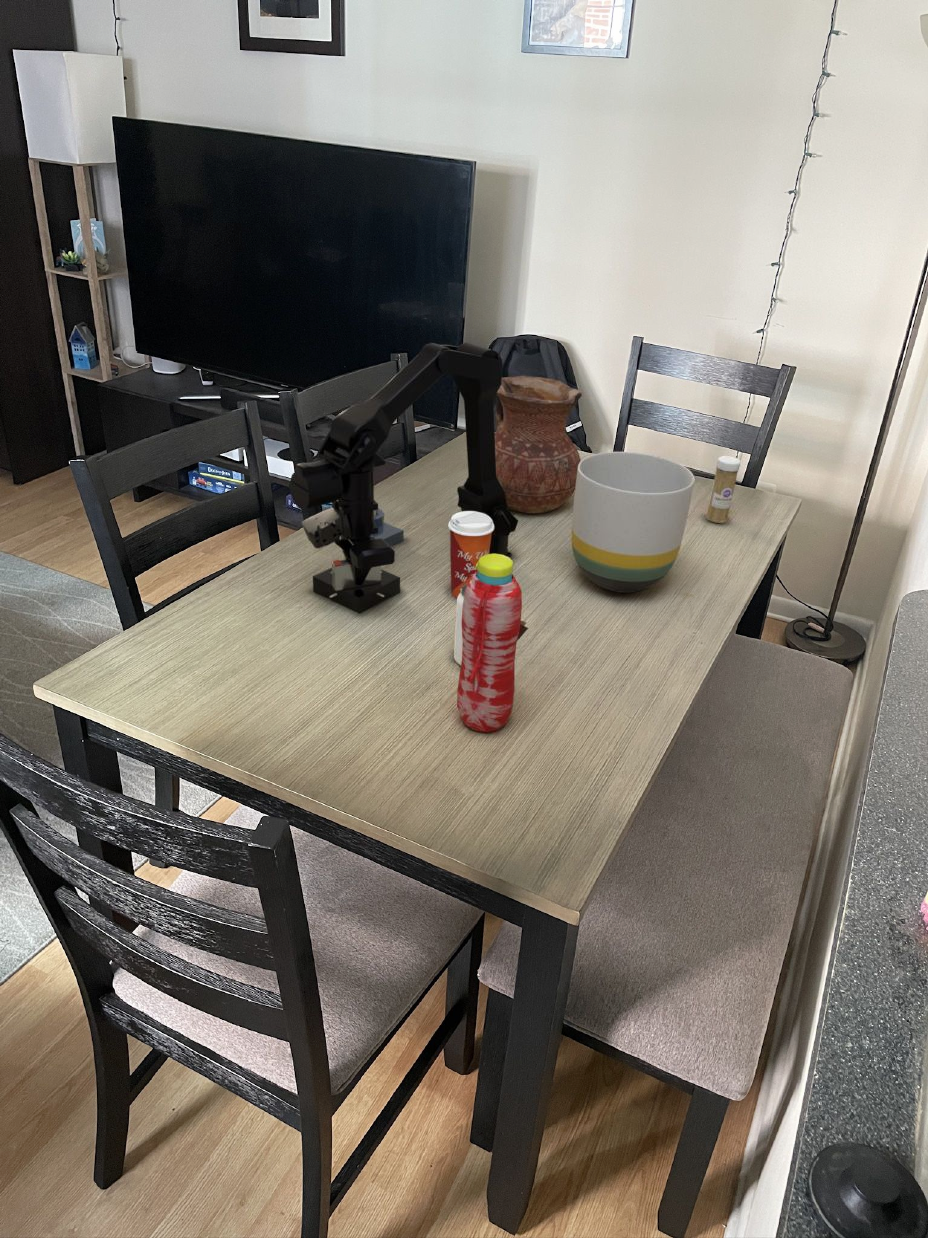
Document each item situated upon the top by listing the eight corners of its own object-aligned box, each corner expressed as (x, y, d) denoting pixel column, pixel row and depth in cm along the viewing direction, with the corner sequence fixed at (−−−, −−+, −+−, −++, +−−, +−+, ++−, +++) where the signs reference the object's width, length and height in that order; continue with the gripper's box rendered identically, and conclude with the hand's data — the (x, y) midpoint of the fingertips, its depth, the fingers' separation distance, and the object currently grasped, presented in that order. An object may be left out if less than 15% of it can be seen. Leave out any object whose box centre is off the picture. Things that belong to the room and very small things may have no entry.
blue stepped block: (407, 538, 172) (407, 519, 170) (374, 553, 166) (374, 534, 164) (367, 522, 178) (367, 504, 176) (334, 536, 172) (334, 517, 170)
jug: (594, 499, 194) (609, 385, 182) (549, 531, 179) (562, 409, 166) (506, 475, 204) (514, 366, 191) (456, 503, 188) (462, 386, 176)
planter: (545, 567, 165) (557, 457, 154) (634, 553, 172) (652, 447, 161) (599, 617, 149) (617, 499, 139) (695, 600, 157) (718, 486, 146)
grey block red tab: (377, 578, 151) (377, 552, 149) (381, 582, 150) (381, 557, 148) (332, 586, 148) (331, 560, 146) (335, 590, 147) (335, 565, 144)
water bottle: (480, 685, 130) (491, 529, 118) (530, 701, 128) (547, 543, 115) (441, 728, 121) (449, 564, 108) (494, 747, 118) (509, 581, 106)
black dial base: (411, 597, 152) (411, 581, 151) (357, 626, 143) (357, 609, 142) (354, 572, 159) (354, 556, 158) (299, 598, 150) (298, 581, 149)
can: (491, 674, 133) (497, 604, 127) (449, 667, 134) (453, 597, 128) (499, 651, 139) (504, 583, 133) (458, 645, 140) (462, 577, 134)
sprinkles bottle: (714, 525, 185) (727, 463, 179) (701, 516, 189) (713, 456, 182) (732, 522, 187) (745, 461, 180) (718, 514, 191) (731, 454, 184)
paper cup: (457, 607, 150) (461, 531, 143) (437, 587, 156) (440, 513, 149) (498, 598, 153) (503, 524, 146) (476, 579, 159) (481, 506, 152)
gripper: (288, 480, 145) (293, 565, 153) (326, 525, 131) (329, 617, 138) (353, 472, 149) (354, 555, 157) (396, 514, 135) (395, 604, 143)
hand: (356, 581), depth 149 cm, fingers closed on grey block red tab, 2 cm apart
